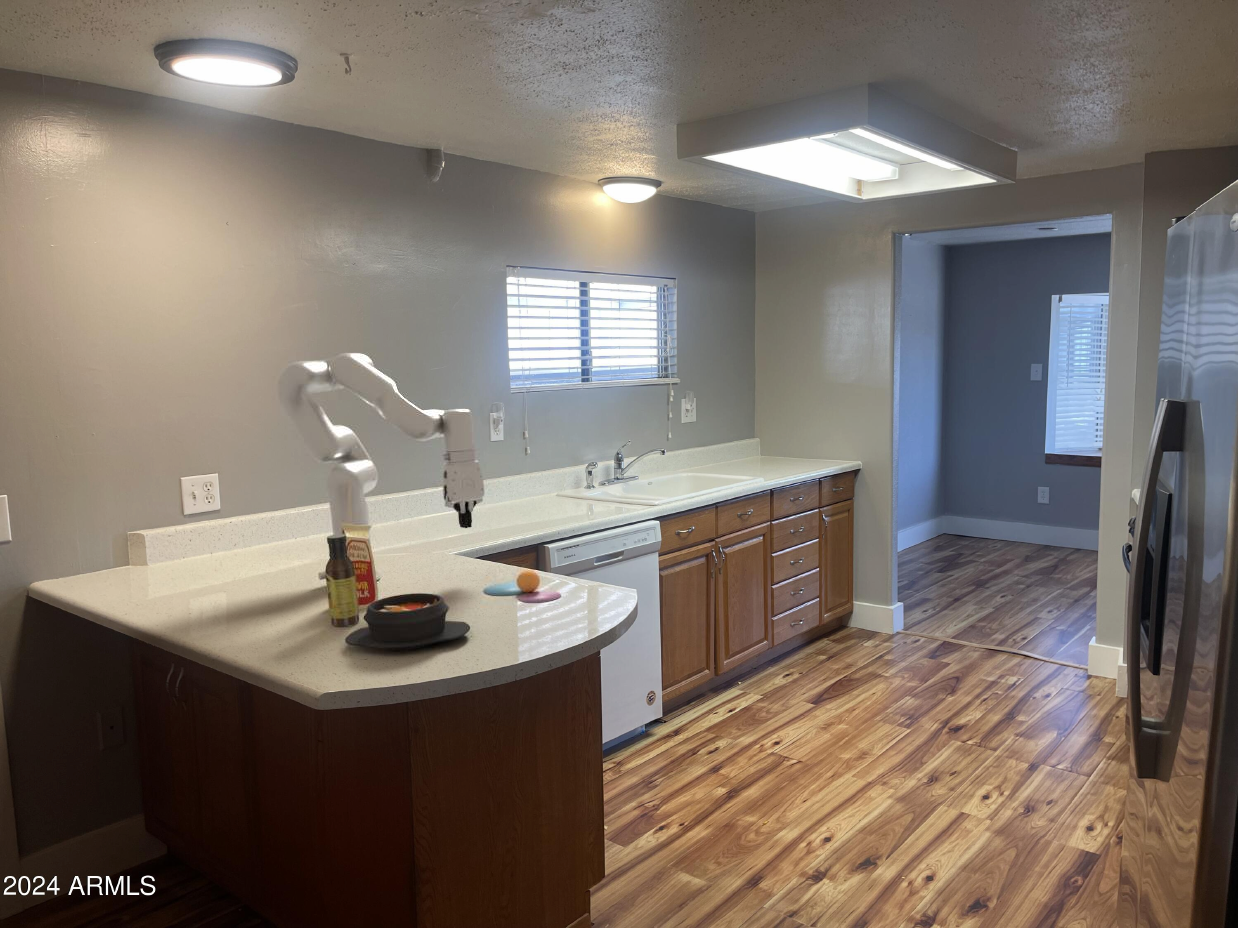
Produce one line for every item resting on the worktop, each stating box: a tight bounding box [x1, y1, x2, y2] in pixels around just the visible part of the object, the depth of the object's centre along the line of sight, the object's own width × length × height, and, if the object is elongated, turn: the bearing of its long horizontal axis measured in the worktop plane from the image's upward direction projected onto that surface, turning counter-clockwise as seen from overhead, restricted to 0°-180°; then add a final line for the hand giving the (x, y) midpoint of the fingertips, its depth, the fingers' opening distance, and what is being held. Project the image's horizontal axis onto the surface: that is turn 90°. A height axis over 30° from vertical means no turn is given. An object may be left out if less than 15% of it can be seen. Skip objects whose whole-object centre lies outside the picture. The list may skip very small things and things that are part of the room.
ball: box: [516, 569, 541, 593], centre depth 222 cm, size 6×6×6 cm
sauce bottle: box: [324, 534, 360, 628], centre depth 203 cm, size 6×6×20 cm
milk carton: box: [341, 523, 379, 609], centre depth 220 cm, size 9×9×20 cm
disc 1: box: [483, 581, 527, 597], centre depth 227 cm, size 13×13×1 cm
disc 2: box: [518, 590, 562, 604], centre depth 218 cm, size 10×10×1 cm
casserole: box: [344, 592, 471, 651], centre depth 187 cm, size 25×19×8 cm
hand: (465, 527), depth 240 cm, fingers closed
